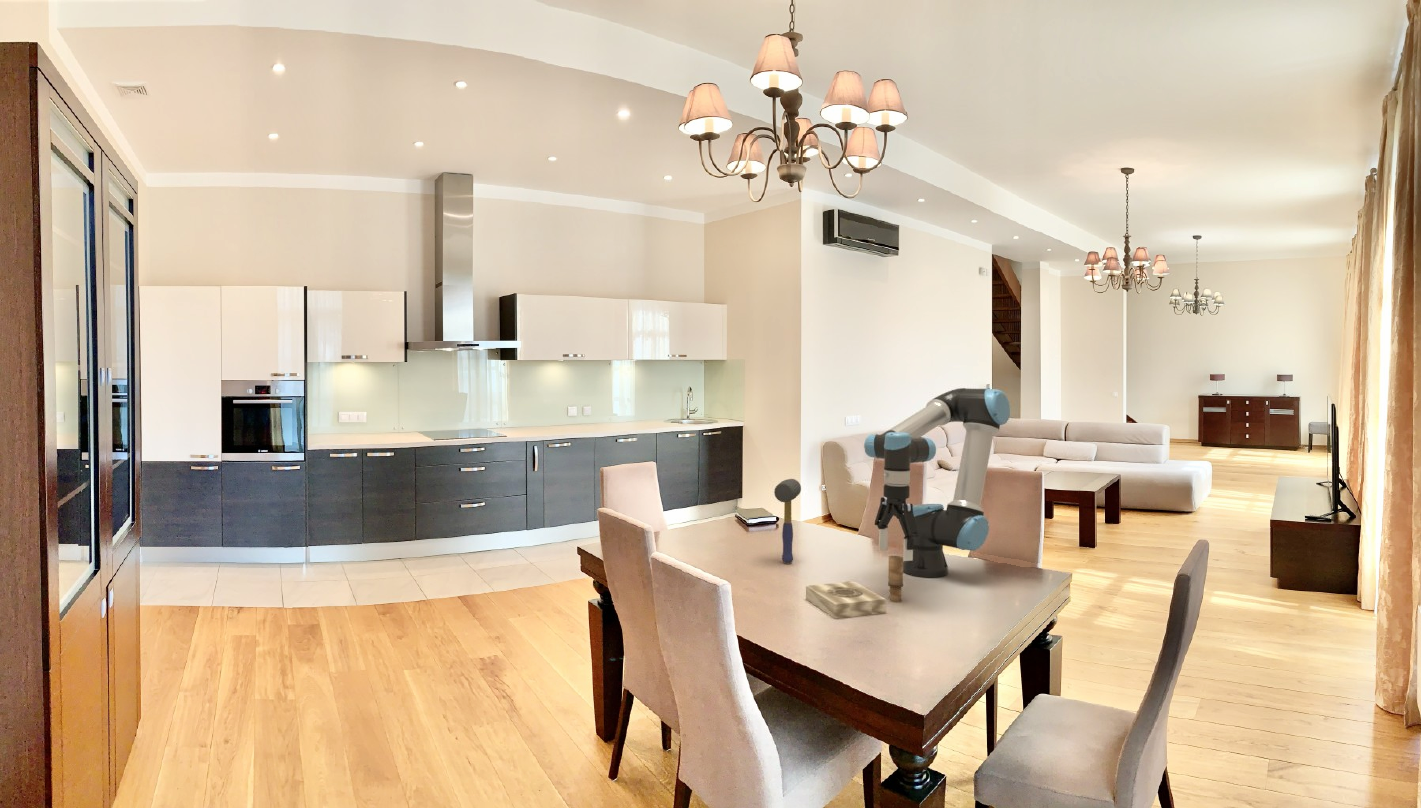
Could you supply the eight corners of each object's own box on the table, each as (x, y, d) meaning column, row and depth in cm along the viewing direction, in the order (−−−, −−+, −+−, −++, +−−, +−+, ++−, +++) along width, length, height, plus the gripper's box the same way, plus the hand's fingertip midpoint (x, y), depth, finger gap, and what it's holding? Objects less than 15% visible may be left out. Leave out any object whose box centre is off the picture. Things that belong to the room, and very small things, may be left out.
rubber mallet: (793, 568, 264) (793, 482, 263) (772, 566, 267) (772, 481, 266) (802, 560, 276) (802, 478, 275) (782, 558, 279) (782, 476, 277)
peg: (897, 597, 231) (898, 555, 230) (905, 601, 227) (906, 558, 226) (885, 598, 229) (885, 556, 229) (892, 603, 225) (893, 559, 225)
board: (853, 594, 234) (853, 581, 234) (885, 612, 216) (885, 598, 216) (805, 598, 229) (805, 585, 229) (835, 618, 211) (835, 604, 211)
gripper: (864, 479, 237) (863, 546, 238) (909, 490, 213) (907, 565, 214) (885, 478, 239) (884, 545, 240) (932, 489, 216) (930, 564, 217)
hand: (895, 555), depth 227 cm, fingers open, 13 cm apart
